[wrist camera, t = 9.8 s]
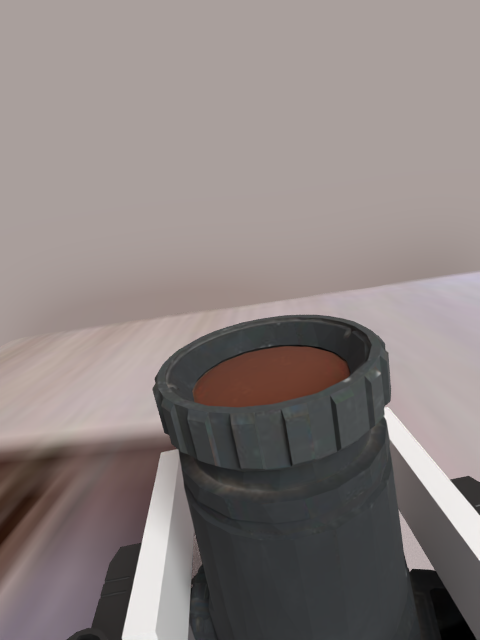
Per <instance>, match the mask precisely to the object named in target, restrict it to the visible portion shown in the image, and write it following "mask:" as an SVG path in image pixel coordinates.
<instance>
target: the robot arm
mask: <svg viewBox="0 0 480 640" xmlns="http://www.w3.org/2000/svg"><path fill="white" fill-rule="evenodd" d="M384 412H385V415H384V417H385V419H386V421H387V427H388V433H389V439H390V445H389V447H390V453H391V459H392V464H393V472H394V480H395V488H396V496H397V503H398V509H399V510H400V512H401V514H402V515H403V517H404V519H405V520H406V522H407V524H408V525H409V527H410V529H411V530H412V532H413V534H414V535H415V537H416V539H417V540H418V542H419V544H420V545H421V547H422V549H423V550H424V552H425V554H426V555H427V557H428V559H429V561H430V562H431V564H432V566H433V567H434V569H435V571H436V572H437V574H438V576H439V577H440V579H441V581H442V582H443V584H444V586H445V587H446V589H447V591H448V592H449V594H450V596H451V597H452V599H453V601H454V602H455V604H456V606H457V607H458V609H459V611H460V612H461V614H462V616H463V617H464V619H465V621H466V622H467V624H468V626H469V627H470V629H471V631H472V632H473V634H474V636H475V637H476V639H477V640H480V482H478V481H476V480H475V479H473V478H471V477H470V476H466V477H461V478H456V479H451V480H449V478H448V477H447V476H446V475H445V474H444V472H443V471H442V470H441V469H440V468H439V467H438V465H437V464H436V463H435V462H434V461H433V459H432V458H431V457H430V456H429V455H428V454H427V452H426V451H425V450H424V449H423V448H422V446H421V445H420V444H419V443H418V442H417V441H416V439H415V438H414V437H413V436H412V435H411V433H410V432H409V431H408V430H407V429H406V428H405V426H404V425H403V424H402V423H401V422H400V420H399V419H398V418H397V417H396V416H395V415H394V413H393V412H392V411H391V410H390V409H389V407H386V408H384ZM193 545H194V526H193V522H192V518H191V514H190V510H189V505H188V501H187V497H186V493H185V489H184V481H183V475H182V469H181V463H180V457H179V451H178V449H177V450H172V451H167V452H162V453H161V456H160V460H159V465H158V470H157V474H156V479H155V484H154V489H153V493H152V498H151V503H150V507H149V512H148V517H147V521H146V526H145V531H144V536H143V540H142V543H139V544H134V545H129V546H124V547H120V549H119V550H118V552H117V553H116V555H115V556H114V558H113V559H112V561H111V562H110V564H109V568H108V571H107V575H106V578H105V584H104V585H103V589H102V592H101V599H99V602H98V606H97V609H96V613H95V616H94V620H93V623H92V627H91V628H87V629H84V630H81V631H79V632H76V633H75V634H74V635H72V636H71V637H69V638H68V639H67V640H188V627H189V611H190V594H191V578H192V562H193Z"/></svg>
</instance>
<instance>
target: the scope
mask: <svg viewBox="0 0 480 640" xmlns="http://www.w3.org/2000/svg"><path fill="white" fill-rule="evenodd" d="M155 382H156V384H155V385H154V387H153V393H154V397H155V400H156V404H157V407H158V411H159V415H160V418H161V422H162V425H163V429H164V433H166V434H168V435H169V436H170V439H171V443H172V445H174V446H175V447H176V448H177V449H178V451H179V457H180V463H181V469H182V475H183V481H184V489H185V493H186V497H187V501H188V505H189V510H190V514H191V518H192V522H193V526H194V530H195V534H196V538H197V543H198V547H199V551H200V555H201V559H202V563H203V564H202V566H201V567H200V568H199V570H198V573H197V574H196V576H195V577H194V578H193V579H192V580H191V584H193V587H192V588H191V594H190V611H189V624H190V626H191V629H192V632H193V635H194V638H195V640H477V639H476V637H475V636H474V634H473V632H472V631H471V629H470V627H469V626H468V624H467V622H466V621H465V619H464V617H463V616H462V614H461V612H460V611H459V609H458V607H457V606H456V604H455V602H454V601H453V599H452V597H451V596H450V594H449V592H448V591H447V589H446V587H445V586H444V584H443V582H442V581H441V579H440V577H439V576H438V574H437V572H436V571H433V570H423V569H412V570H411V571H410V572H409V568H408V567H407V564H406V560H405V556H404V552H403V543H402V535H401V527H400V519H399V511H398V503H397V496H396V488H395V480H394V472H393V464H392V459H391V453H390V447H389V445H390V439H389V433H388V427H387V421H386V419H385V417H384V415H385V412H384V407H385V405H387V404H388V403H389V402H390V399H391V384H390V370H389V357H388V352H387V351H386V350H385V343H384V342H383V341H382V339H381V338H380V337H379V336H378V335H376V334H375V333H374V332H373V331H371V330H369V329H368V328H366V327H364V326H362V325H360V324H358V323H356V322H354V321H350V320H346V319H342V318H336V317H331V316H322V315H285V316H277V317H270V318H264V319H258V320H253V321H248V322H243V323H239V324H236V325H233V326H229V327H226V328H223V329H220V330H217V331H214V332H212V333H209V334H207V335H205V336H202V337H200V338H198V339H197V340H195V341H193V342H191V343H190V344H188V345H186V346H184V347H183V348H181V349H179V350H178V351H177V352H175V353H174V354H173V355H172V356H171V357H169V359H168V360H167V361H166V362H165V363H164V364H163V365H162V367H161V369H160V370H159V372H158V374H157V375H156V377H155Z"/></svg>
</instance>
